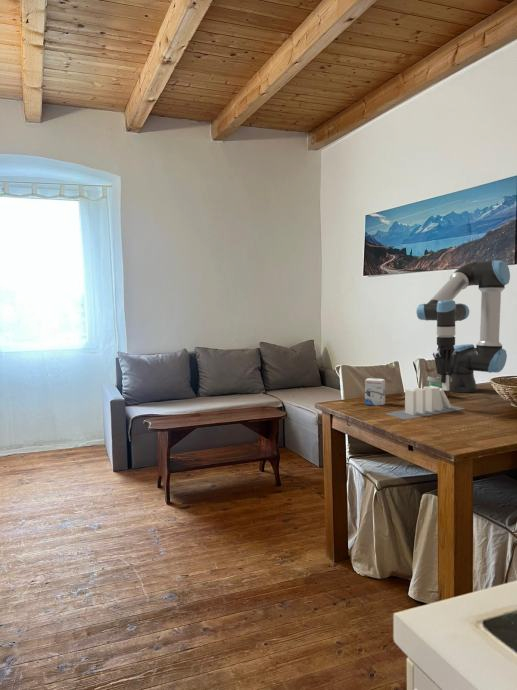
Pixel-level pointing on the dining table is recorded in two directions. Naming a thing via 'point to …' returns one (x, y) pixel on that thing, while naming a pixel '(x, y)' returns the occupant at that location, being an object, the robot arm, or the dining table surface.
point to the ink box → (374, 391)
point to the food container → (438, 383)
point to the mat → (407, 416)
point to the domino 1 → (410, 401)
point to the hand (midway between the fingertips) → (445, 389)
